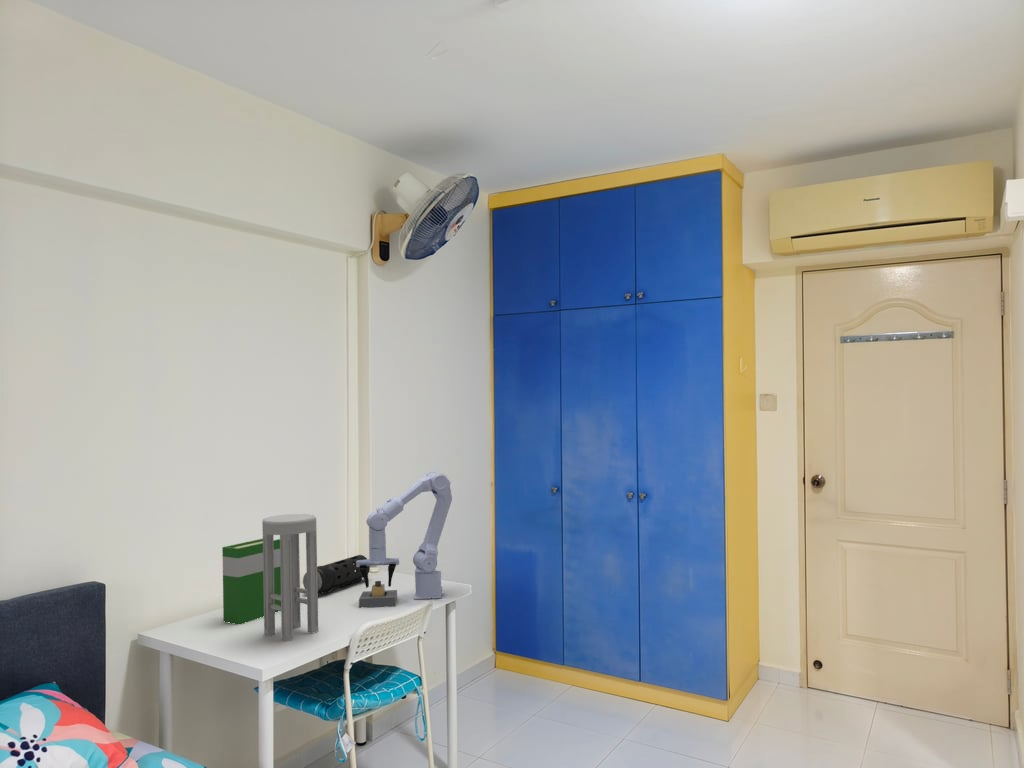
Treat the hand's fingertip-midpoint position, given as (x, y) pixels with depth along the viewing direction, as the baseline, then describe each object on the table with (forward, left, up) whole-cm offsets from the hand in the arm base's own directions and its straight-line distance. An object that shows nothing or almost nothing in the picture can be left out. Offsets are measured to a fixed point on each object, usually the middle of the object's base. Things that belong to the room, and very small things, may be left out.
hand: (378, 586), depth 254 cm
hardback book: (+40, +9, -6) cm, 41 cm away
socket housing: (0, 0, -6) cm, 6 cm away
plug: (0, 0, -6) cm, 6 cm away
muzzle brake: (+18, -24, -6) cm, 31 cm away
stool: (+23, +30, -6) cm, 38 cm away
